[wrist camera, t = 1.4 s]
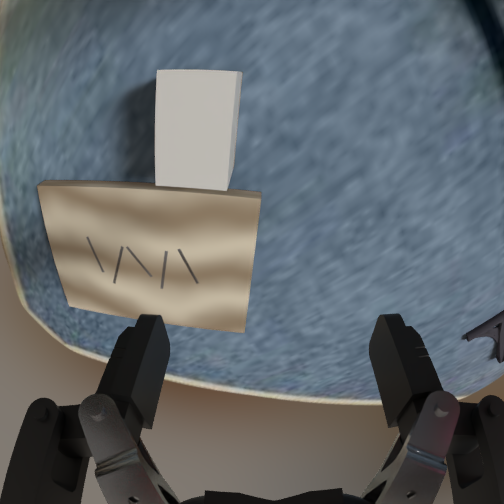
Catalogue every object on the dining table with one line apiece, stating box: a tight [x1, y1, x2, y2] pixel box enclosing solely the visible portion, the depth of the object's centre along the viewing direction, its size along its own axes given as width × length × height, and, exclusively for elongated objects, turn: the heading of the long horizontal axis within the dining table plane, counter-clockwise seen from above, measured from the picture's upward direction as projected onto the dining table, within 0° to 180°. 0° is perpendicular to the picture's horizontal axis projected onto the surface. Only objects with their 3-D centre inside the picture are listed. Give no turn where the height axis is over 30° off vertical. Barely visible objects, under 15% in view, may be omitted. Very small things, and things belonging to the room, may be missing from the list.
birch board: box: [37, 180, 261, 333], centre depth 30 cm, size 16×22×2 cm
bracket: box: [466, 311, 504, 363], centre depth 37 cm, size 14×15×3 cm
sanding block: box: [155, 70, 243, 191], centre depth 20 cm, size 8×5×6 cm, turn 174°
